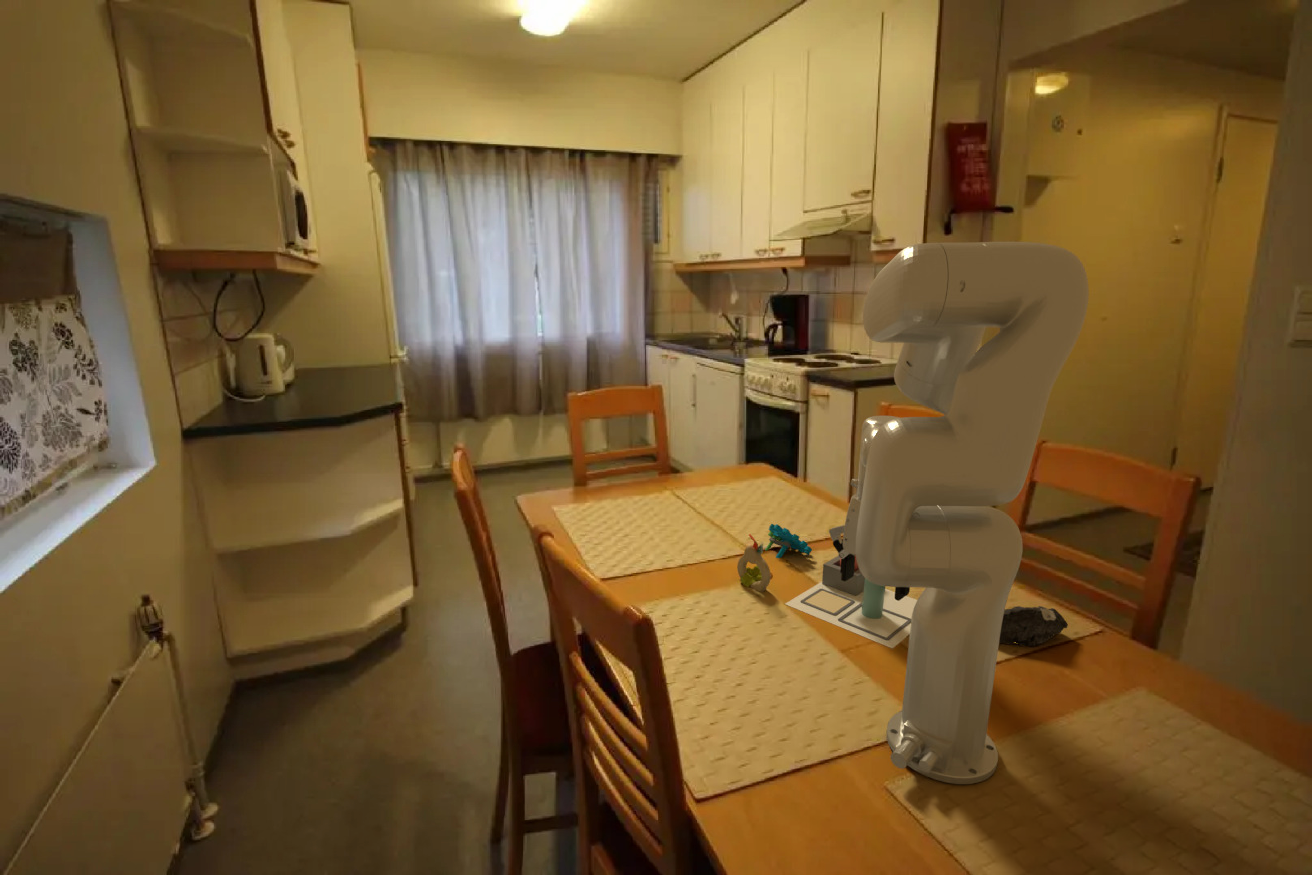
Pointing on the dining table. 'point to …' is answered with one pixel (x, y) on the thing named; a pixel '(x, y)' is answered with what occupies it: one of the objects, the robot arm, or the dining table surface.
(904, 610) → the cream board with squares
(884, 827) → the dining table surface
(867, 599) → the cylinder
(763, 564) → the grey ring ornament
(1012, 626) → the rock
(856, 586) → the button collar
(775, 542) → the toy dinosaur
